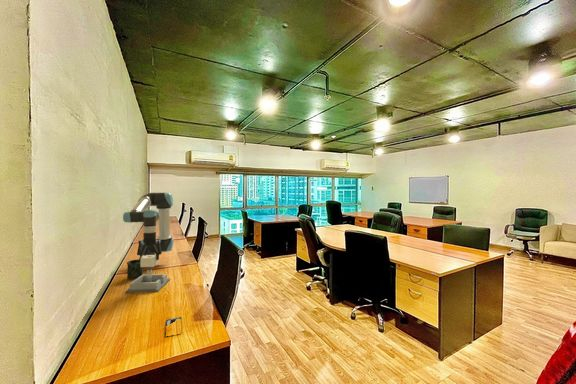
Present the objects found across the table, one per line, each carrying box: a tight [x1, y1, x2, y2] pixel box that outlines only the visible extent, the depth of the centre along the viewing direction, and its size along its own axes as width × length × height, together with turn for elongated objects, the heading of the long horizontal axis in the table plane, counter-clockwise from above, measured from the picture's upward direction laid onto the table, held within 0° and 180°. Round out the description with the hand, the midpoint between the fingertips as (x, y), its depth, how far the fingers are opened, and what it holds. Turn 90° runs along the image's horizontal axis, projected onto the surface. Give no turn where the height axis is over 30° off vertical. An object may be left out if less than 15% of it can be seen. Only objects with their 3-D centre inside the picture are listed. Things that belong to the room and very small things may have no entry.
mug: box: [126, 259, 144, 280], centre depth 179 cm, size 11×15×12 cm
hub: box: [141, 254, 156, 268], centre depth 167 cm, size 13×8×6 cm, turn 6°
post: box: [146, 268, 153, 282], centre depth 164 cm, size 3×3×10 cm
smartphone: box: [164, 316, 182, 327], centre depth 116 cm, size 7×1×15 cm
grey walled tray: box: [125, 273, 171, 294], centre depth 164 cm, size 20×20×5 cm
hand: (149, 264), depth 164 cm, fingers closed on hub, 8 cm apart
